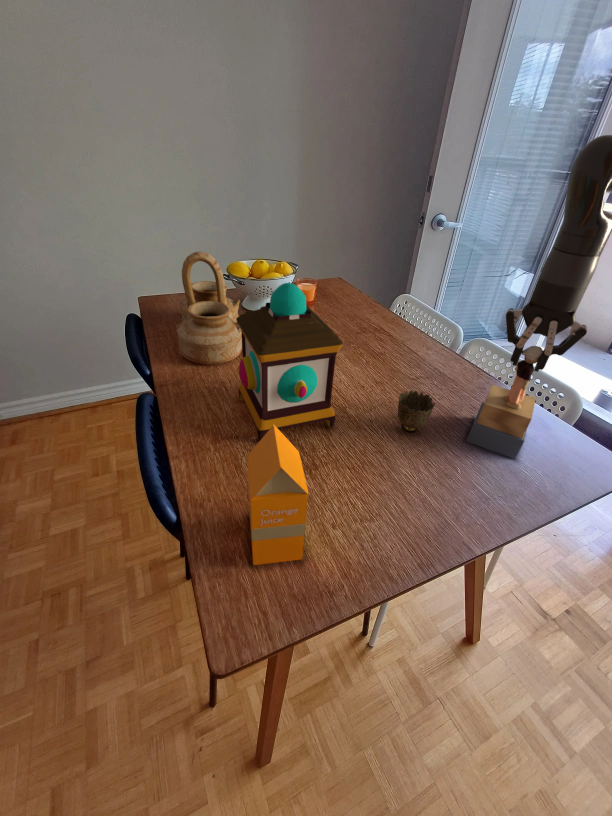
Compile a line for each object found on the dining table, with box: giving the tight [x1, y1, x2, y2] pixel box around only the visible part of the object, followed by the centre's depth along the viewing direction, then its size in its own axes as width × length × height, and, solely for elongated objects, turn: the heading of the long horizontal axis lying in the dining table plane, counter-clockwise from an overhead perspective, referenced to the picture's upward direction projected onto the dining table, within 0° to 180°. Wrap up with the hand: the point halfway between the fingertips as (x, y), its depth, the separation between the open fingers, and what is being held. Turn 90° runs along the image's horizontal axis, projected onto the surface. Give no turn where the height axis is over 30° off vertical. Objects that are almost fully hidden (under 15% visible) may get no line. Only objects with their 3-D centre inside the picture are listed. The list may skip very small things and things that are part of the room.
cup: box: [397, 390, 436, 434], centre depth 86 cm, size 8×7×8 cm
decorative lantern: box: [236, 282, 344, 442], centre depth 82 cm, size 20×20×30 cm
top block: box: [477, 384, 537, 438], centre depth 84 cm, size 9×9×5 cm
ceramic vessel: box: [175, 251, 242, 365], centre depth 111 cm, size 34×18×25 cm, turn 13°
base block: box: [466, 401, 528, 460], centre depth 87 cm, size 10×10×5 cm
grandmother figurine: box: [504, 345, 543, 409], centre depth 78 cm, size 8×4×13 cm, turn 178°
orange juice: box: [246, 424, 310, 566], centre depth 58 cm, size 8×9×20 cm
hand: (525, 366), depth 77 cm, fingers closed on grandmother figurine, 3 cm apart
